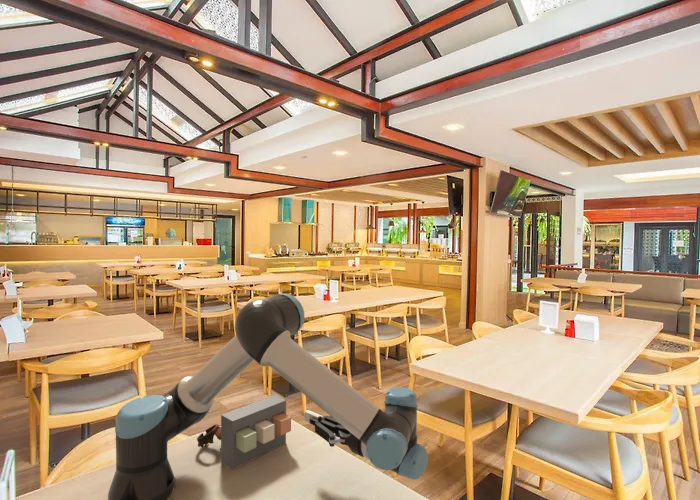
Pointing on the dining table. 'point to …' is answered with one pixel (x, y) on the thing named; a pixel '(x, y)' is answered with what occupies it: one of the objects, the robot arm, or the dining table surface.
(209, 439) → the pottery mug
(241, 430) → the sage button
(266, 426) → the ivory button
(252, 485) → the dining table surface
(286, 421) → the terracotta button
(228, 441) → the console
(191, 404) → the robot arm
